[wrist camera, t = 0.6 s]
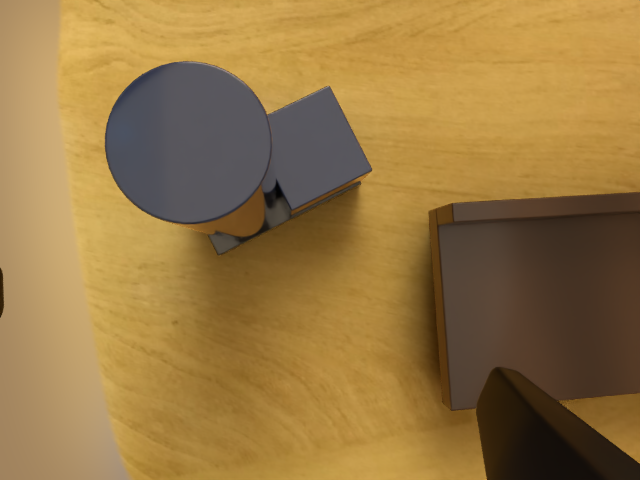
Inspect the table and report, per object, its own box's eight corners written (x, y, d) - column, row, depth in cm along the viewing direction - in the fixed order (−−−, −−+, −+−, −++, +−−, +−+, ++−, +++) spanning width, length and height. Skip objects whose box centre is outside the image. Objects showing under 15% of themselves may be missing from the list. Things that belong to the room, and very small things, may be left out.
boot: (218, 257, 24) (153, 256, 12) (177, 179, 24) (72, 100, 12) (360, 185, 25) (433, 116, 13) (321, 109, 25) (357, -32, 13)
